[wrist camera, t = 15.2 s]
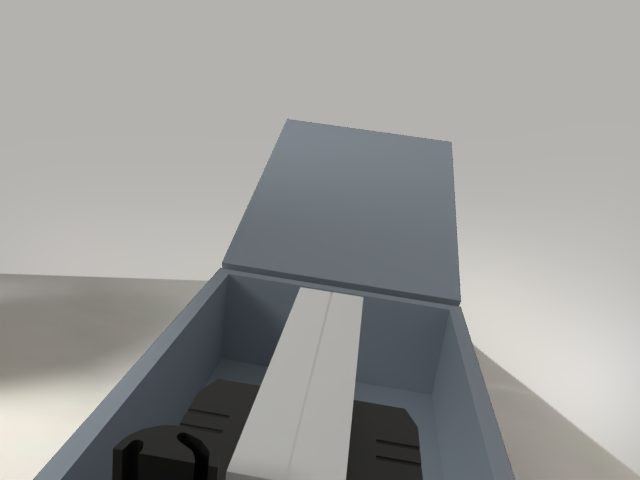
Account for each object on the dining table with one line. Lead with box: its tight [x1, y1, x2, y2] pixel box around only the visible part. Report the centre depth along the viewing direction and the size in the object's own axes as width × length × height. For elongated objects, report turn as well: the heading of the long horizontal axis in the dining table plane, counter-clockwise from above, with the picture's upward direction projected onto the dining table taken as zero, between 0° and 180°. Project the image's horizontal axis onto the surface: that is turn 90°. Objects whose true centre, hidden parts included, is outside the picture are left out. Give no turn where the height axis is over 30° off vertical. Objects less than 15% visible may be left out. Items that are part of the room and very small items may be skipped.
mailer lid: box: [222, 119, 461, 307], centre depth 46 cm, size 22×16×1 cm
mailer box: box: [33, 268, 515, 480], centre depth 28 cm, size 22×16×7 cm
